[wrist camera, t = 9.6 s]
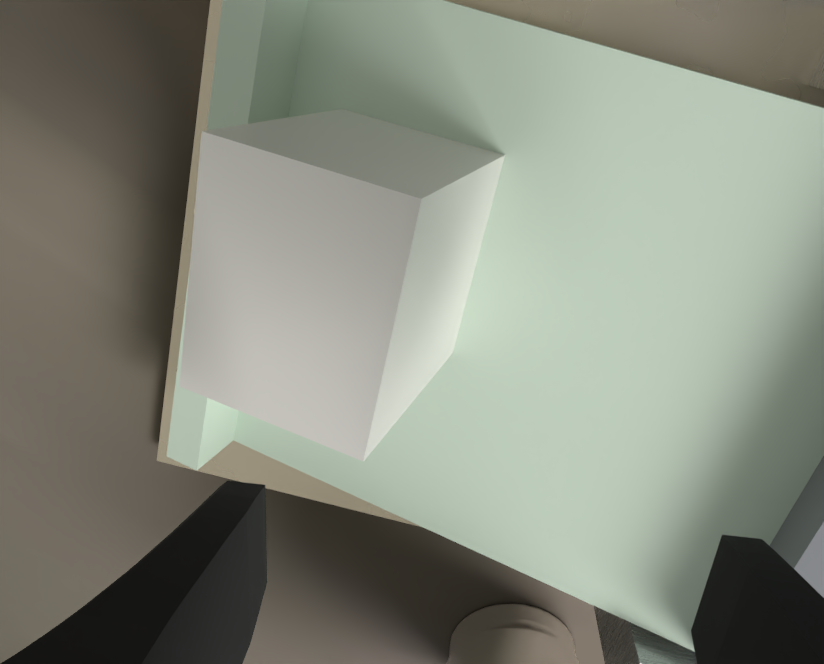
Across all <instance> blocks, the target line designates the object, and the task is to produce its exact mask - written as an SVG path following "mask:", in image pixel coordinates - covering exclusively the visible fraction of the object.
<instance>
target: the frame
mask: <svg viewBox="0 0 824 664" xmlns="http://www.w3.org/2000/svg"><path fill="white" fill-rule="evenodd" d="M222 1H223V0H210V7H209V16H208V24H207V33H206V42H205V50H204V59H203V67H202V76H201V85H200V93H199V102H198V110H197V119H196V128H195V136H194V145H193V153H192V162H191V171H190V179H189V188H188V196H187V205H186V214H185V222H184V231H183V239H182V248H181V257H180V265H179V274H178V282H177V291H176V299H175V308H174V317H173V325H172V334H171V342H170V351H169V360H168V368H167V377H166V385H165V394H164V403H163V411H162V420H161V428H160V437H159V446H158V454H157V461H160V462H164V463H168V464H172V465H176V466H180V467H184V468H188V469H192V468H190V467H188V466H186V465H184V464H182V463H179V462H177V461H175V460H173V459H171V458H169V457H167V448H168V440H169V431H170V423H171V415H172V407H173V399H174V391H175V383H176V375H177V366H178V358H179V350H180V342H181V334H182V326H183V318H184V310H185V301H186V293H187V285H188V277H189V269H190V260H191V248H192V237H193V225H194V214H195V202H196V191H197V179H198V168H199V156H200V145H201V133H202V131H206V130H207V123H208V115H209V106H210V98H211V90H212V82H213V74H214V66H215V58H216V50H217V41H218V33H219V25H220V17H221V9H222ZM447 1H450V2H454V3H457V4H461V5H464V6H468V7H471V8H475V9H478V10H482V11H485V12H489V13H493V14H496V15H500V16H503V17H507V18H510V19H514V20H517V21H521V22H524V23H528V24H531V25H535V26H538V27H542V28H545V29H549V30H553V31H556V32H560V33H563V34H567V35H570V36H574V37H577V38H581V39H584V40H588V41H591V42H595V43H598V44H602V45H606V46H609V47H613V48H616V49H620V50H623V51H627V52H630V53H634V54H637V55H641V56H644V57H648V58H651V59H655V60H659V61H662V62H666V63H669V64H673V65H676V66H680V67H683V68H687V69H690V70H694V71H697V72H701V73H704V74H708V75H711V76H715V77H719V78H722V79H726V80H729V81H733V82H736V83H740V84H743V85H747V86H750V87H754V88H757V89H761V90H764V91H768V92H772V93H775V94H779V95H782V96H786V97H789V98H793V99H796V100H800V101H803V102H807V103H810V104H814V105H817V106H821V107H824V0H447ZM192 470H194V469H192ZM197 471H200V472H204V473H208V474H212V475H216V476H220V477H224V478H227V479H231V480H235V481H239V482H244V483H254V484H263V485H265V488H267V489H271V490H275V491H279V492H283V493H287V494H291V495H295V496H299V497H303V498H307V499H311V500H315V501H319V502H323V503H327V504H331V505H335V506H339V507H343V508H347V509H351V510H355V511H359V512H363V513H367V514H371V515H375V516H379V517H383V518H387V519H391V520H395V521H399V522H403V523H407V524H411V525H415V526H419V525H417V524H415V523H413V522H410V521H408V520H406V519H404V518H402V517H400V516H397V515H395V514H393V513H391V512H389V511H386V510H384V509H382V508H380V507H378V506H376V505H373V504H371V503H369V502H367V501H365V500H362V499H360V498H358V497H356V496H354V495H352V494H349V493H347V492H345V491H343V490H341V489H338V488H336V487H334V486H332V485H330V484H328V483H325V482H323V481H321V480H319V479H317V478H314V477H312V476H310V475H308V474H306V473H304V472H301V471H299V470H297V469H295V468H293V467H290V466H288V465H286V464H284V463H282V462H280V461H277V460H275V459H273V458H271V457H269V456H266V455H264V454H262V453H260V452H258V451H256V450H253V449H251V448H249V447H247V446H245V445H242V444H240V443H238V442H236V441H234V440H233V441H232V442H231V443H230V444H228V445H227V446H226V447H225V448H224V449H222V450H221V451H220V452H219V453H218V454H216V455H215V456H214V457H213V458H211V459H210V460H209V461H208V462H207V463H205V464H204V465H203V466H202V467H201V468H199V469H198V470H197ZM419 527H421V526H419ZM423 528H424V527H423ZM594 609H595V614H596V620H597V625H598V630H599V635H600V640H601V646H602V651H603V656H604V661H605V664H697V660H696V655H695V652H694V651H692V650H690V649H687V648H685V647H683V646H681V645H679V644H677V643H674V642H672V641H670V640H668V639H666V638H663V637H661V636H659V635H657V634H655V633H653V632H650V631H648V630H646V629H644V628H642V627H639V626H637V625H635V624H633V623H631V622H629V621H626V620H624V619H622V618H620V617H618V616H615V615H613V614H611V613H609V612H607V611H605V610H602V609H600V608H598V607H596V606H594Z"/></svg>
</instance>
